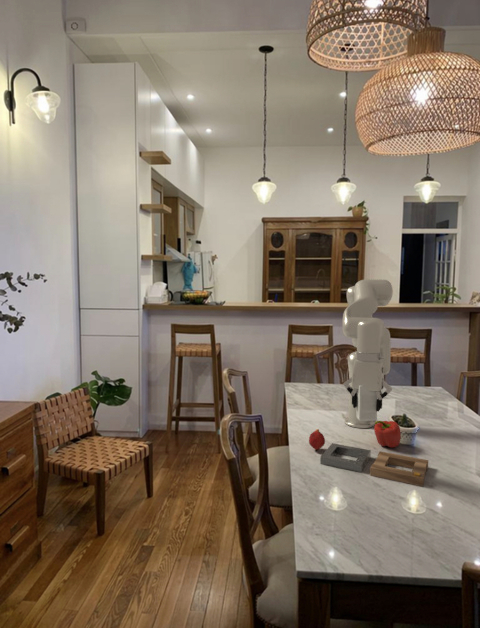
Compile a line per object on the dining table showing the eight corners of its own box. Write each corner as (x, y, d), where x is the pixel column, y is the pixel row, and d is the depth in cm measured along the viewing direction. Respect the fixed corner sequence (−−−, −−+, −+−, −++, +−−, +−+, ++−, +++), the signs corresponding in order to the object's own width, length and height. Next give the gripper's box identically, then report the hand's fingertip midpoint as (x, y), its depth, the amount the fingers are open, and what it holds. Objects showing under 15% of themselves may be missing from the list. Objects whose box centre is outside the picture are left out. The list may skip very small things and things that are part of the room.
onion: (312, 453, 164) (313, 432, 163) (306, 447, 169) (306, 427, 168) (327, 452, 165) (327, 430, 164) (320, 446, 171) (320, 425, 170)
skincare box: (373, 417, 156) (374, 383, 155) (376, 421, 151) (378, 386, 150) (355, 417, 156) (356, 383, 154) (358, 421, 151) (359, 386, 150)
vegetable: (381, 452, 165) (382, 425, 164) (366, 442, 175) (367, 416, 174) (407, 449, 168) (408, 423, 167) (391, 439, 178) (391, 414, 177)
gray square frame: (332, 449, 167) (332, 443, 167) (370, 457, 161) (370, 450, 161) (320, 463, 155) (320, 456, 155) (361, 472, 149) (361, 465, 148)
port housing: (379, 458, 160) (379, 450, 160) (428, 467, 153) (428, 459, 152) (370, 475, 147) (370, 466, 146) (422, 486, 139) (423, 477, 139)
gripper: (397, 357, 150) (395, 409, 152) (345, 352, 159) (344, 402, 161) (392, 361, 144) (390, 415, 146) (339, 356, 152) (338, 407, 154)
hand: (366, 408), depth 153 cm, fingers closed on skincare box, 7 cm apart
